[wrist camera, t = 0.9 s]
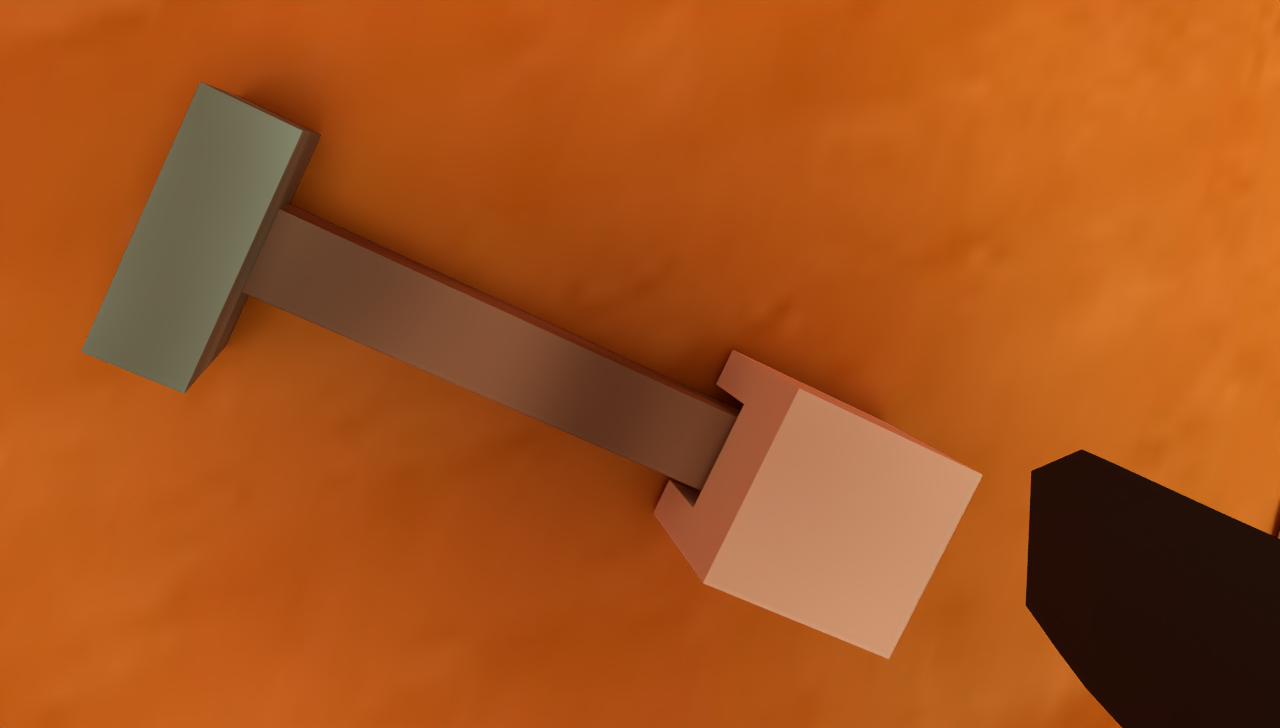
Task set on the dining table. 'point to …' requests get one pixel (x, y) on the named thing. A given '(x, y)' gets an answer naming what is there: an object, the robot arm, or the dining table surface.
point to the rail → (360, 299)
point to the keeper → (818, 510)
